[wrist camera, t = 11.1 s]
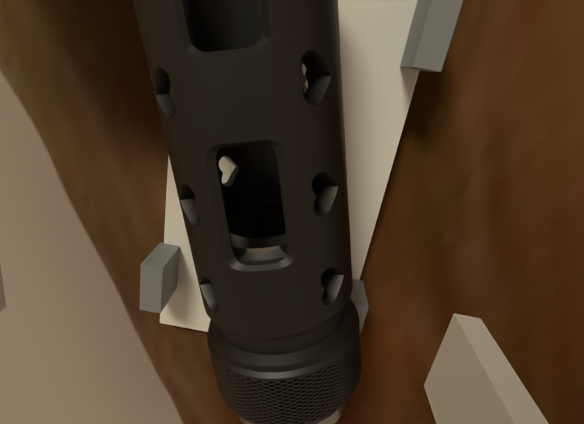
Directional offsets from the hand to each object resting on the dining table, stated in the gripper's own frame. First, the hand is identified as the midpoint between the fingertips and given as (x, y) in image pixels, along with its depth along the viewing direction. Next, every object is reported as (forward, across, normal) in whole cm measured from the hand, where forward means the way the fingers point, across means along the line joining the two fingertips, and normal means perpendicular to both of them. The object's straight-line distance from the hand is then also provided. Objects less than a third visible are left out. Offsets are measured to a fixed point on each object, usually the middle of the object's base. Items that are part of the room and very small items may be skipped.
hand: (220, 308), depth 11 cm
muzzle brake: (+16, 0, 0) cm, 16 cm away
